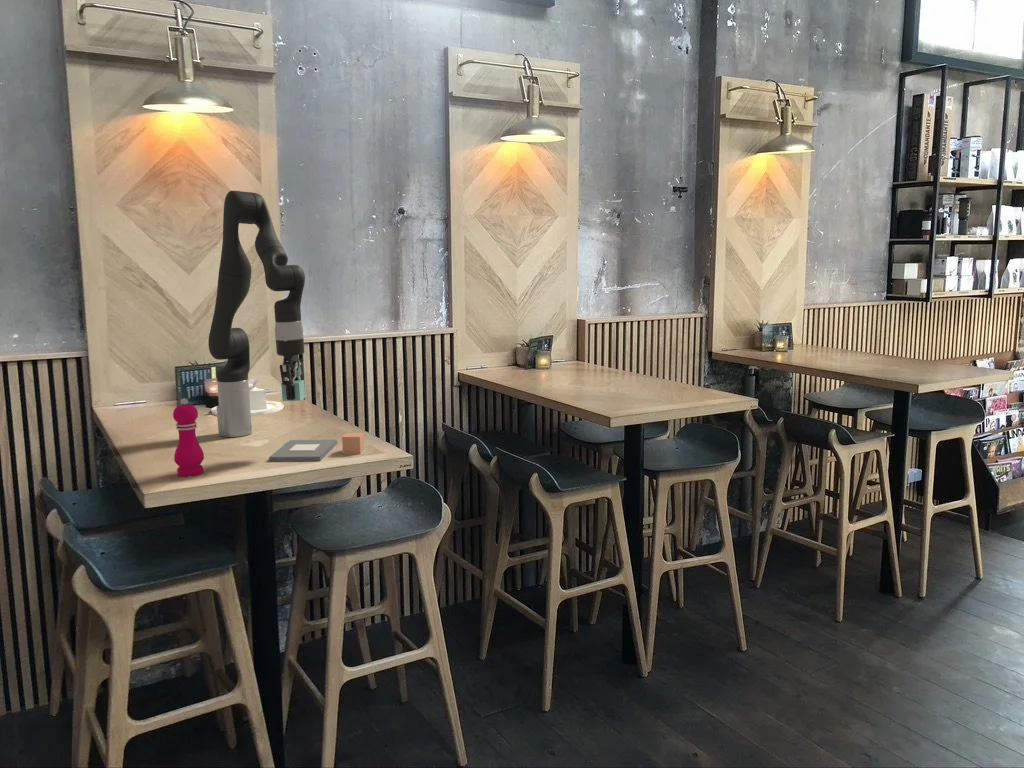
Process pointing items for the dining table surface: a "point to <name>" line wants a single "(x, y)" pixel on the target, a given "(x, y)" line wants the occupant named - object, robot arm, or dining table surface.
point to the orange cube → (353, 443)
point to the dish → (258, 401)
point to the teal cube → (299, 391)
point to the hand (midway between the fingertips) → (293, 397)
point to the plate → (303, 450)
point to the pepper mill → (187, 441)
